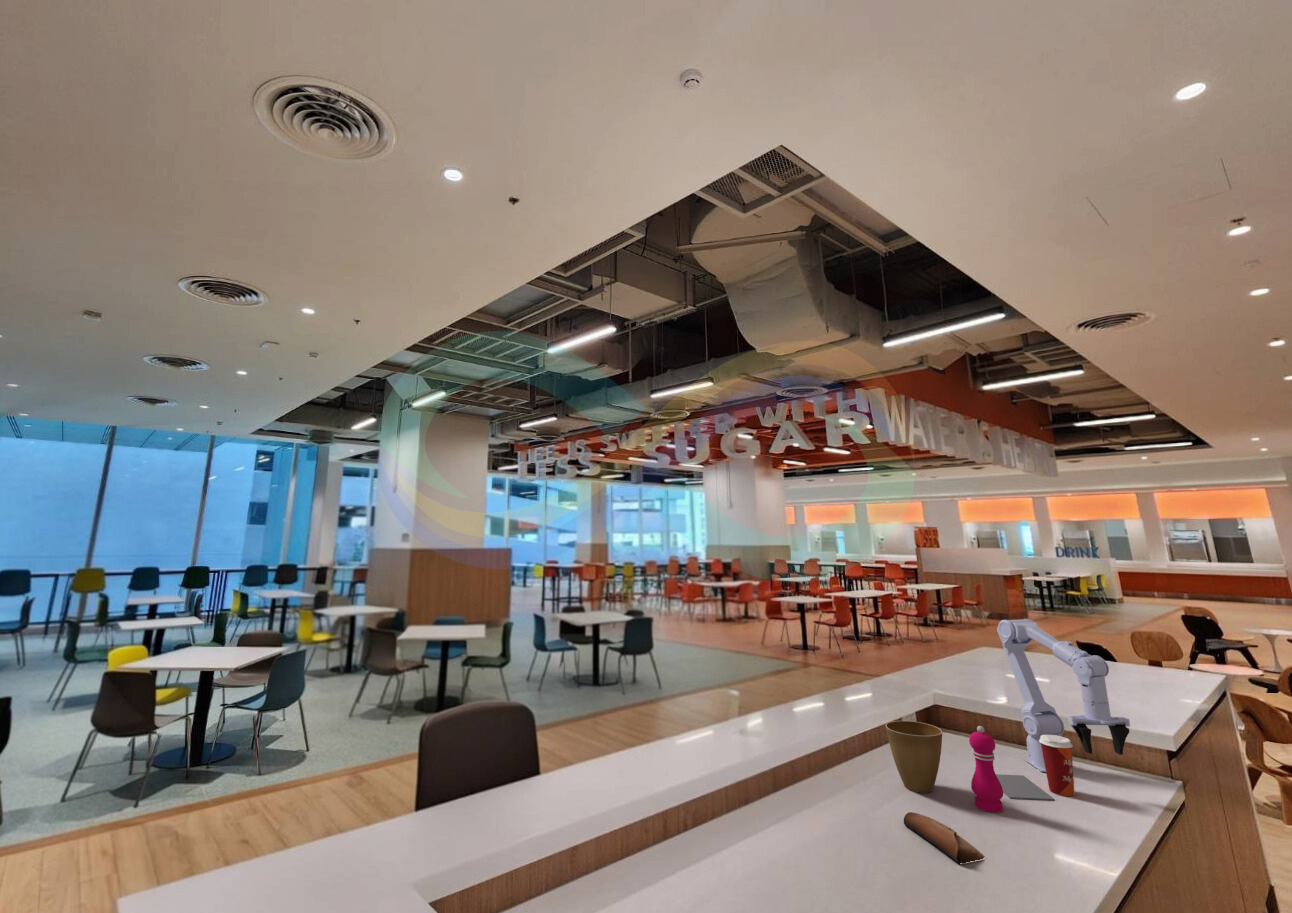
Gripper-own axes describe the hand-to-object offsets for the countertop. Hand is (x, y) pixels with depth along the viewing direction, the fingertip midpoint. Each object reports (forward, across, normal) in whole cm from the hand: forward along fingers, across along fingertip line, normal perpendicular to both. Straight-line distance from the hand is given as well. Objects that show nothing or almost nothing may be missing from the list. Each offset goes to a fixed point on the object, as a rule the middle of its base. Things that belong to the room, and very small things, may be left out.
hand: (1103, 753), depth 154 cm
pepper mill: (+11, -36, -12) cm, 39 cm away
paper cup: (+11, -12, 0) cm, 16 cm away
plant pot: (+10, -50, -1) cm, 51 cm away
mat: (+10, -22, +2) cm, 25 cm away
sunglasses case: (+12, -54, -32) cm, 64 cm away
